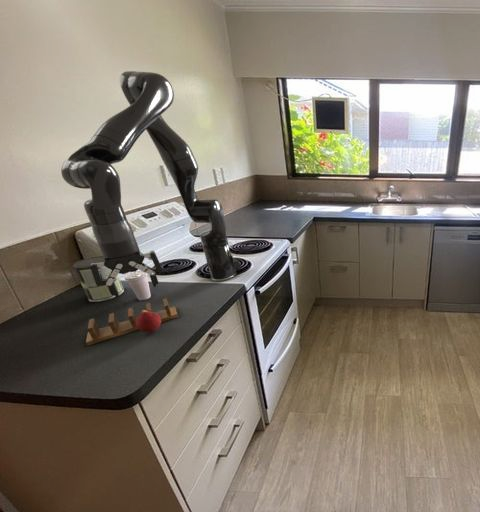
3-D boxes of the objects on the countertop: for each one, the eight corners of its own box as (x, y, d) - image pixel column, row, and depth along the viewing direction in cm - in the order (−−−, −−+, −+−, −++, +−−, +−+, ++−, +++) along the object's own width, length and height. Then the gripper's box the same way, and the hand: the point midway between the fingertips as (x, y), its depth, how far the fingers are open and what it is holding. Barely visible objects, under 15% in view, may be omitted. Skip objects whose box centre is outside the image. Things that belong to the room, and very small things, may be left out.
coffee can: (80, 302, 105) (63, 267, 99) (106, 288, 114) (92, 255, 109) (107, 302, 104) (91, 267, 99) (131, 288, 114) (118, 255, 108)
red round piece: (162, 323, 92) (154, 302, 89) (166, 331, 88) (157, 310, 85) (139, 332, 88) (130, 310, 85) (142, 340, 85) (132, 318, 81)
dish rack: (175, 309, 100) (171, 296, 98) (178, 317, 96) (173, 303, 94) (89, 335, 87) (82, 321, 85) (87, 345, 83) (80, 330, 81)
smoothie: (136, 304, 103) (122, 269, 98) (131, 298, 107) (117, 264, 101) (157, 296, 108) (145, 262, 102) (152, 291, 111) (139, 258, 106)
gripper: (76, 248, 70) (103, 304, 76) (150, 235, 78) (168, 287, 84) (80, 239, 75) (104, 293, 81) (148, 228, 83) (165, 278, 90)
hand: (136, 290), depth 83 cm, fingers open, 8 cm apart
